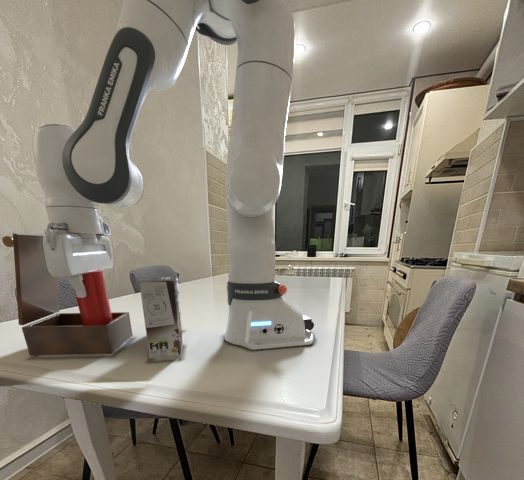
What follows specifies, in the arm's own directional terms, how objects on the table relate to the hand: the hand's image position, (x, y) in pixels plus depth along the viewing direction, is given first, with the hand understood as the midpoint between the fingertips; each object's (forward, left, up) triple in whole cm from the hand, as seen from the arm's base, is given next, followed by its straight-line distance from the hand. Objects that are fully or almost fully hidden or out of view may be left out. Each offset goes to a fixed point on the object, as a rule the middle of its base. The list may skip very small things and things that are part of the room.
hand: (91, 294), depth 63 cm
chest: (+3, 0, -12) cm, 13 cm away
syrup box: (-13, -10, -13) cm, 21 cm away
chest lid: (+10, 0, +3) cm, 10 cm away
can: (0, 0, -7) cm, 7 cm away
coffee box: (-16, +5, -13) cm, 21 cm away
